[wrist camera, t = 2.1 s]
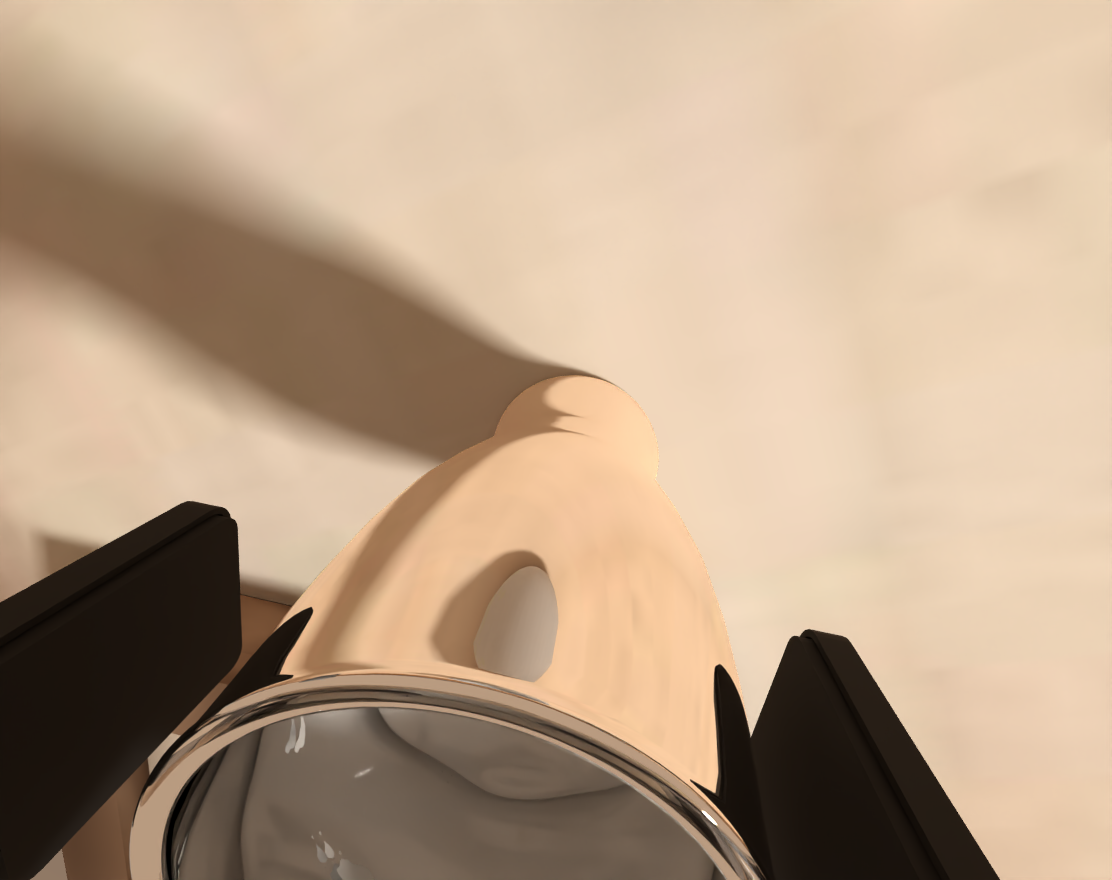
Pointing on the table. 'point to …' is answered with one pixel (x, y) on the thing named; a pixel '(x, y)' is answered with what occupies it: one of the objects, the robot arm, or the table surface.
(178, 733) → the frame
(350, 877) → the beer glass
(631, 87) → the table surface
